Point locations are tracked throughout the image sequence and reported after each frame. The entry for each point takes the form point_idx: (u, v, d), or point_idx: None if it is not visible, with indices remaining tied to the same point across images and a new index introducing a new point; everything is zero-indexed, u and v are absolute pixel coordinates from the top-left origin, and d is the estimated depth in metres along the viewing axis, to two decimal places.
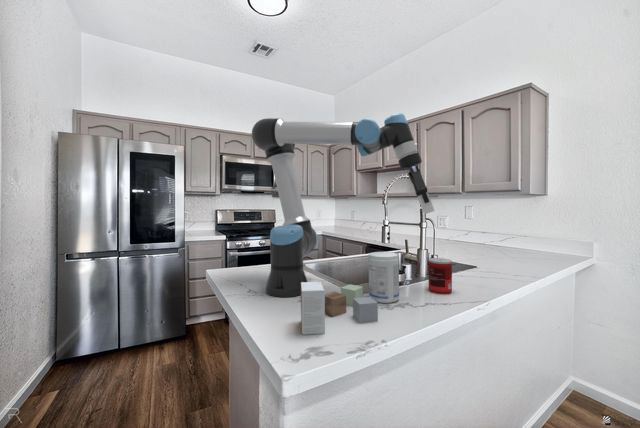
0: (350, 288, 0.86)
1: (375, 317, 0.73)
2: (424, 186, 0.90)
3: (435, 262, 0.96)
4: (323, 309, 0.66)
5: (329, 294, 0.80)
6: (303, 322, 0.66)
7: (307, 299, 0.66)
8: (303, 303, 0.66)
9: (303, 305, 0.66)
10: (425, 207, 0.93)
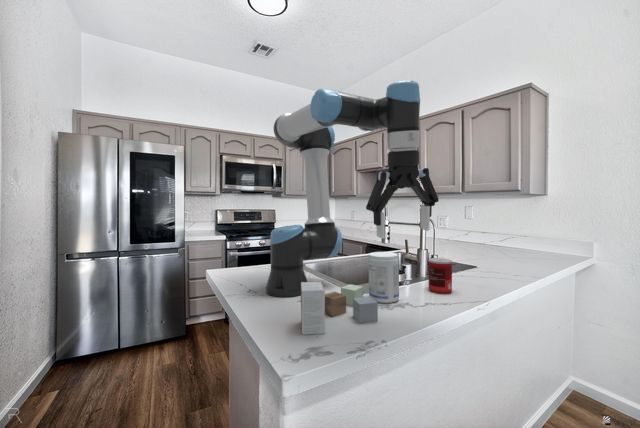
0: (350, 288, 0.86)
1: (375, 317, 0.73)
2: (371, 205, 0.68)
3: (435, 262, 0.96)
4: (323, 309, 0.66)
5: (329, 294, 0.80)
6: (303, 322, 0.66)
7: (307, 299, 0.66)
8: (303, 303, 0.66)
9: (303, 305, 0.66)
10: (377, 229, 0.72)
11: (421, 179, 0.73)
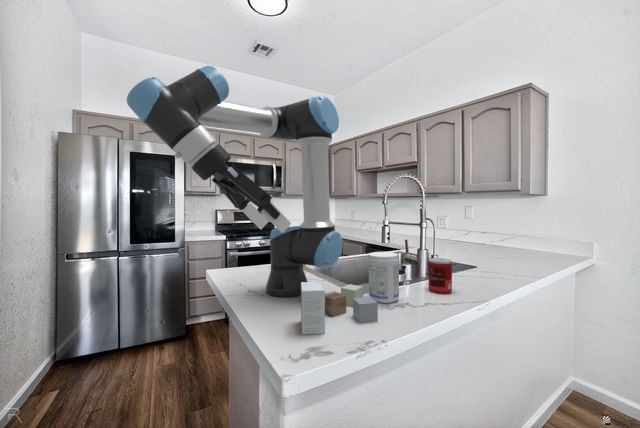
0: (350, 288, 0.86)
1: (375, 317, 0.73)
2: None
3: (435, 262, 0.96)
4: (323, 309, 0.66)
5: (329, 294, 0.80)
6: (303, 322, 0.66)
7: (307, 299, 0.66)
8: (303, 303, 0.66)
9: (303, 305, 0.66)
10: None
11: None
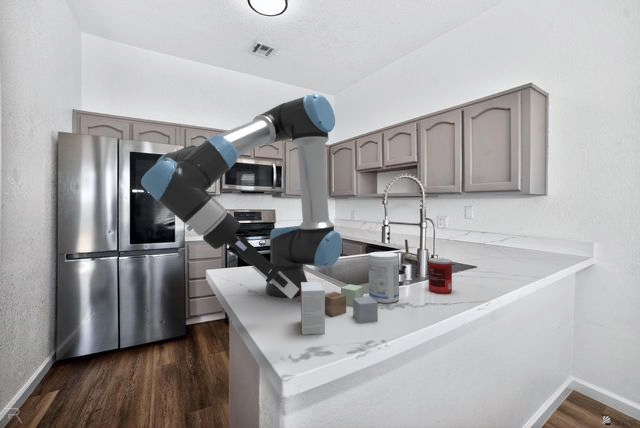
0: (350, 288, 0.86)
1: (375, 317, 0.73)
2: None
3: (435, 262, 0.96)
4: (323, 309, 0.66)
5: (329, 294, 0.80)
6: (303, 322, 0.66)
7: (307, 299, 0.66)
8: (303, 303, 0.66)
9: (303, 305, 0.66)
10: None
11: None
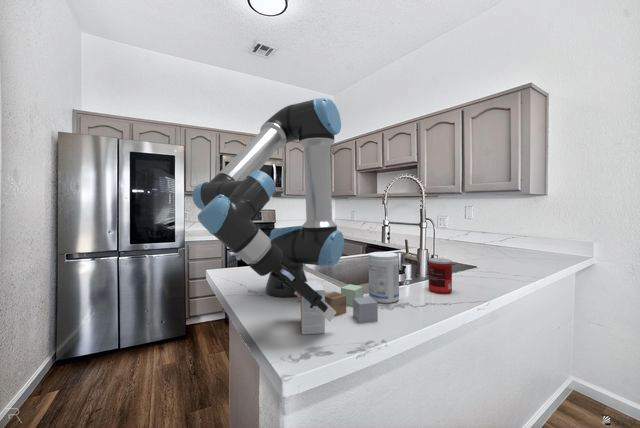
0: (350, 288, 0.86)
1: (375, 317, 0.73)
2: None
3: (435, 262, 0.96)
4: None
5: (329, 294, 0.80)
6: (303, 322, 0.66)
7: None
8: (303, 303, 0.66)
9: (303, 305, 0.66)
10: None
11: None
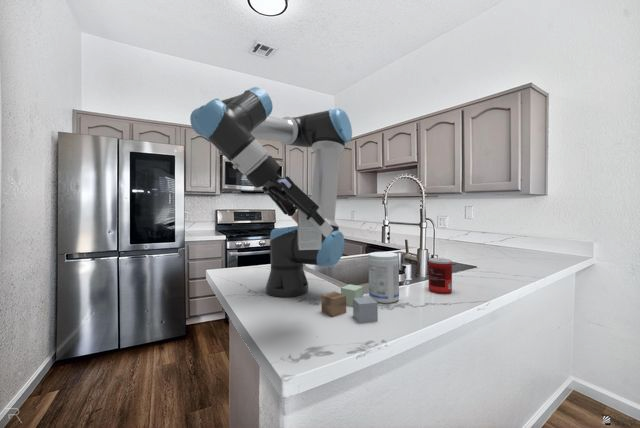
0: (350, 288, 0.86)
1: (375, 317, 0.73)
2: None
3: (435, 262, 0.96)
4: None
5: (329, 294, 0.80)
6: (300, 237, 0.66)
7: (304, 214, 0.65)
8: (300, 218, 0.66)
9: (300, 220, 0.66)
10: None
11: None
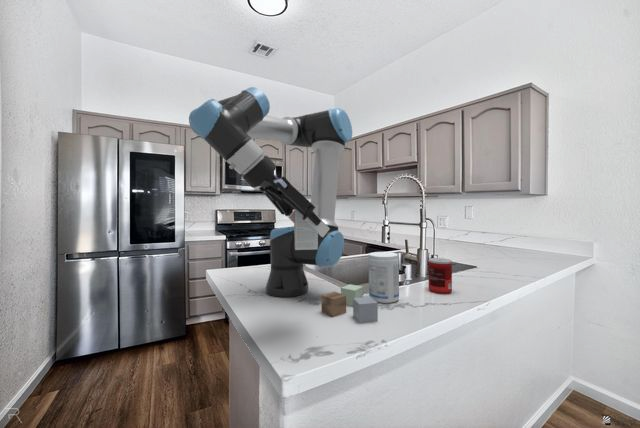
0: (350, 288, 0.86)
1: (375, 317, 0.73)
2: None
3: (435, 262, 0.96)
4: None
5: (329, 294, 0.80)
6: (296, 237, 0.66)
7: (300, 214, 0.66)
8: (296, 218, 0.66)
9: (296, 220, 0.66)
10: None
11: None
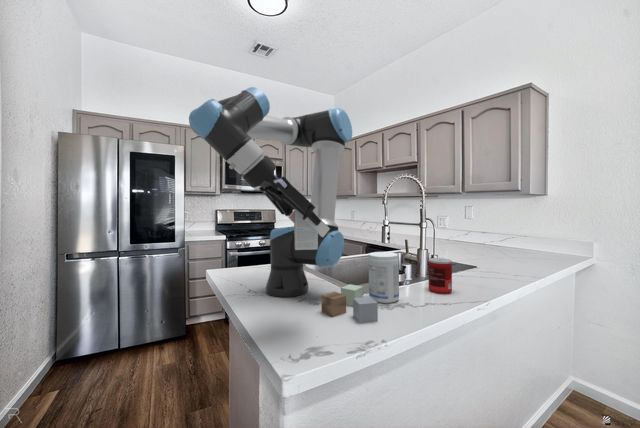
0: (350, 288, 0.86)
1: (375, 317, 0.73)
2: None
3: (435, 262, 0.96)
4: None
5: (329, 294, 0.80)
6: (296, 237, 0.66)
7: (300, 214, 0.66)
8: (296, 218, 0.66)
9: (296, 220, 0.66)
10: None
11: None
